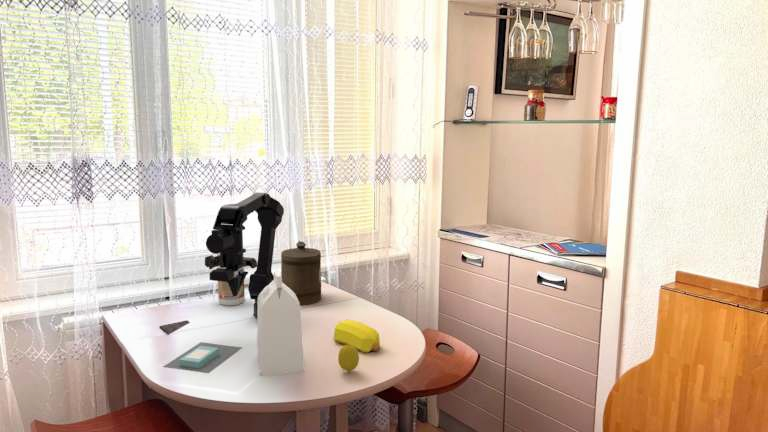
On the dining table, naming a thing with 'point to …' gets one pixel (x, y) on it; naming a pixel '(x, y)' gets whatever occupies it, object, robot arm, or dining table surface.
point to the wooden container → (302, 272)
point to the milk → (279, 329)
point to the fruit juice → (229, 293)
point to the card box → (199, 356)
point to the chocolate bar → (173, 326)
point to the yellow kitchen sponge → (357, 335)
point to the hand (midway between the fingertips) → (235, 295)
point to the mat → (212, 364)
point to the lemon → (348, 357)
